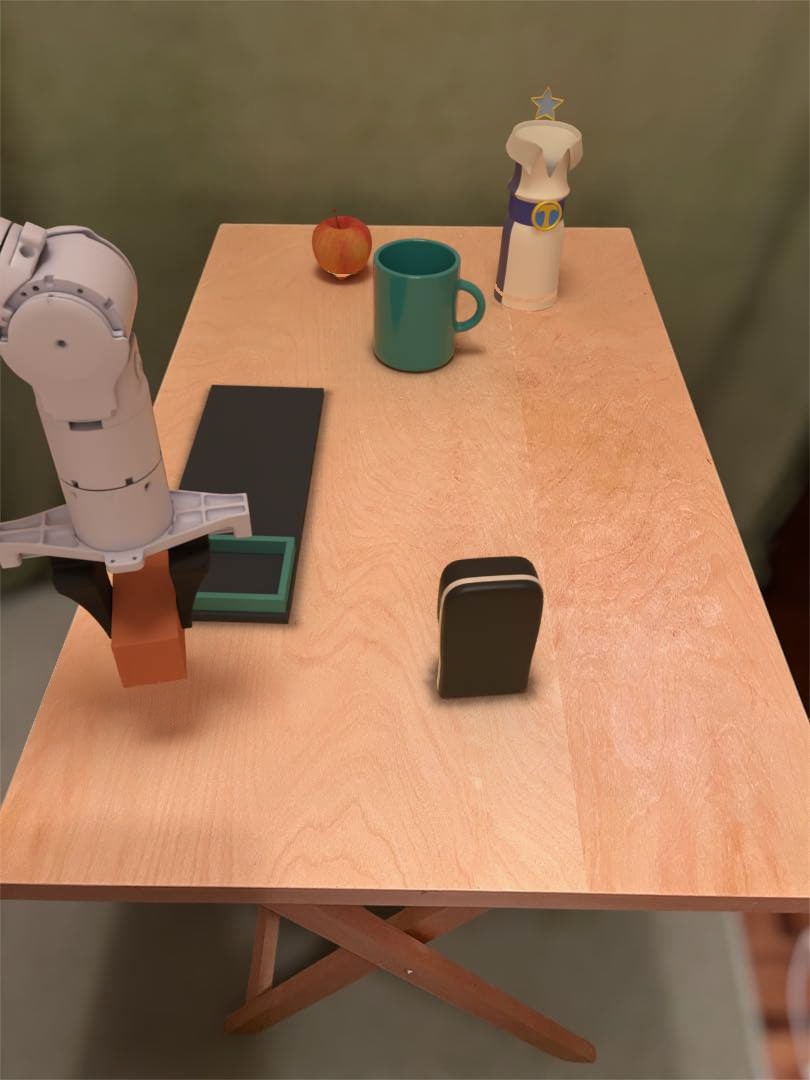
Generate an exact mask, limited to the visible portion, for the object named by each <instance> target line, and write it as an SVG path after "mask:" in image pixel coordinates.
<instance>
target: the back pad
mask: <svg viewBox="0 0 810 1080" xmlns="http://www.w3.org/2000/svg"><path fill="white" fill-rule="evenodd" d="M324 396H325V389H324V387H303V386H301V387H300V386H298V387H297V386H268V385H265V386H264V385H238V384H235V385H234V384H211V386H210V389H209V392H208V396H207V398H206V401H205V405H204V408H203V411H202V414H201V417H200V420H199V423H198V425H197V426H198V427H197V430H196V433H195V436H194V439H193V442H192V445H191V448H190V451H189V455H188V458H187V461H186V463H185V467H184V471H183V473H182V476H181V479H180V483H179V485H178V489H177V490H185V491H194V492H204V493H213V494H240V493H246V494H247V501H248V508H249V515H250V523H251V531H252V536H251V537H244V538H236V537H234V534H233V532H228V533H220V534H212V535H209V544H210V555H211V562H210V567H209V571H208V574H207V575H206V576H205V578H204V579H203V581H202V583H201V585H200V587H199V589H198V592H197V594H196V598H195V601H194V605H193V611H192V622H193V621H194V622H222V623H225V622H226V623H252V624H253V623H254V624H256V623H257V624H282V625H283V624H287V625H288V624H289V622H290V614H291V607H292V601H293V595H294V589H295V583H296V582H295V581H296V575H297V570H298V563H299V556H300V550H301V543H302V538H303V532H304V524H305V518H306V512H307V506H308V500H309V492H310V486H311V480H312V475H313V473H312V472H313V466H314V461H315V460H314V459H315V454H316V448H317V441H318V435H319V427H320V422H321V416H322V410H323V409H322V408H323V403H324ZM163 551H168V549H166V550H163Z"/></svg>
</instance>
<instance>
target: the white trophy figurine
mask: <svg viewBox="0 0 810 1080" xmlns="http://www.w3.org/2000/svg"><path fill="white" fill-rule="evenodd" d="M530 100H531V102H532V103H534V105H536V107H537V111H536V112H535V113H536V114H535V117H534V119H533V120H532V119H531V120H525V121H522V122H520V123H517V124H516V125H515V126H514V127H513V129H512V132H511V134H510V135H509V137H508V139H507V142H506V143H505V151H506V154H508V156H509V157H510V158H511V160H513V161H515V167H514V171H513V174H512V177H511V178H510V179H509V181H508V182H507V189H508V191H509V202H508V211H507V214H506V216H505V218H504V220H503V224H502V225H503V226H502V230H501V231H502V233H501V238H500V239H501V240H500V249H499V255H498V257H499V258H498V264H497V272H496V278H495V283H496V284H497V287H498V288H499V289H500V291H502V292H504V293H506V294H507V295H511V296H514V297H518V298H527V299H531V298H534V299H537V298H543V297H546V296H548V295H551V294H552V293H554V292H555V291H556V289H557V287H558V288H559V277H560V269H561V260H562V252H563V244H564V237H565V221H564V212H565V205H566V197H567V196H568V195H569V194H570V191H571V187H570V185H569V183H568V177H567V176H568V175H567V174H568V171H569V172H571V171H572V170H573V169H574V168H575V167H576V166H578V164H580V162H581V160H582V158H583V155H584V149H583V140H582V139H583V138H582V137H583V135H582V133H581V131H579V130H578V128H576V127H575V126H574V125H572V124H569V123H566V122H562V121H558V120H556V117H555V109H556V108H557V107H559V106H560V105H561V104H562V103H563V102H564V101H565V100H564V99H561V98H556V97H554V96H553V95H552V91H551V88H550V85H548V86H547V88H546V89H545V91H544V92H543V93H542V95H541V96H534V97H530ZM544 117H546V118H548V119H542V118H544ZM549 119H550V120H549ZM568 167H569V169H568ZM493 296H494V299H495V301H497V303H499V304H501V305H502V306H504V307H506V308H509V309H511V310H516V311H520V312H521V311H522V312H538V311H542V310H543V311H544V310H547V309H549V308H551V307H553V306H554V305H555V304H556V302H557V299H558V293H557V294H556V296H555V297H553V298H552V299H550V300H548V301H545V302H541V303H520V302H515V301H512V300H509V299H506V298H504V297H503V296H501V295H500V294H499V293H498V292H497V291H496V289H495V288H494V289H493Z"/></svg>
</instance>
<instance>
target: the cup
mask: <svg viewBox="0 0 810 1080" xmlns="http://www.w3.org/2000/svg"><path fill="white" fill-rule="evenodd" d="M461 265H462V258H461V255H460V253H459V252H458V251H457V249H455V248H454V247H452V246H450V245H448V244H446V243H445V242H442V241H438V240H434V239H429V238H419V237H417V238H413V237H412V238H402V239H396V240H393V241H392V240H391V241H389V242H386V243H384V244H382V245H381V246H379V247H378V248H376V250H375V252H374V253H373V257H372V319H373V320H372V337H373V338H372V346H373V351H374V354H375V356H376V357H377V358H378V360H379V361H380V362H382V363H383V364H384V365H386V366H388V367H391V368H393V369H396V370H399V371H404V372H415V373H416V372H427V371H431V370H435V369H438V368H441V367H442V366H444V365H446V364H447V363H448V362H449V361H450V360H451V359H452V358H453V356H454V354H455V350H456V340H457V339H456V337H457V334H459V333H465V332H468V331H470V330H472V329H474V328H475V327H476V326H478V325H479V324H480V323H481V321H482V320H483V318H484V317H485V313H486V309H487V308H486V307H487V303H486V299H485V295H484V293H483V291H482V290H481V289H480V288H479V286H477V285H476V284H474V283H473V282H471V281H469V280H466V279H462V277H461ZM460 291H464V292H466V293H468V294H470V295H471V296H472V297H473V299H474V300H475V302H476V303H475V304H476V310H475V312H474V314H473V315H472V316H471V317H469V318H468V319H465V320H463V321H458V311H459V310H458V309H459V294H460Z"/></svg>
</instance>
